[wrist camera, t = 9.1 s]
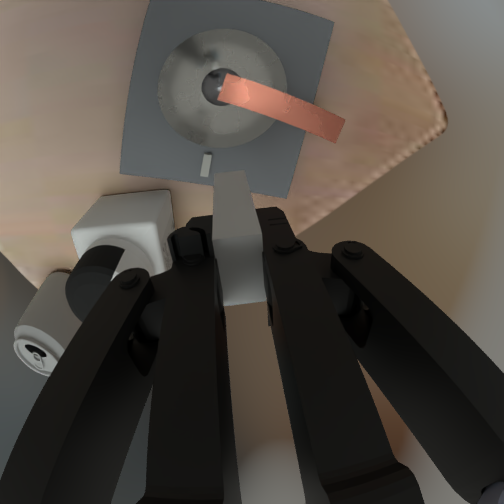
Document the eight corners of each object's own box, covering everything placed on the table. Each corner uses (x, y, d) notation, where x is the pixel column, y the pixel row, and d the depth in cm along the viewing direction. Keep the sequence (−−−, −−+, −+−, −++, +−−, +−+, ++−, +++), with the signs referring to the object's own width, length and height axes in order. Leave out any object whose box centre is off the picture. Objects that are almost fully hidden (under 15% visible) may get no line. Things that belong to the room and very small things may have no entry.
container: (115, 258, 31) (77, 345, 20) (99, 195, 26) (38, 267, 15) (179, 254, 31) (163, 347, 20) (170, 187, 27) (138, 262, 16)
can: (93, 274, 31) (57, 349, 21) (96, 317, 35) (71, 388, 25) (43, 262, 30) (-1, 328, 19) (51, 305, 33) (19, 370, 23)
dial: (148, 127, 22) (132, 136, 18) (185, 21, 17) (176, 6, 13) (298, 171, 26) (314, 190, 21) (339, 75, 21) (364, 74, 17)
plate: (157, -7, 16) (152, -15, 15) (328, 25, 20) (337, 20, 18) (124, 169, 25) (117, 176, 23) (283, 193, 29) (288, 201, 27)
